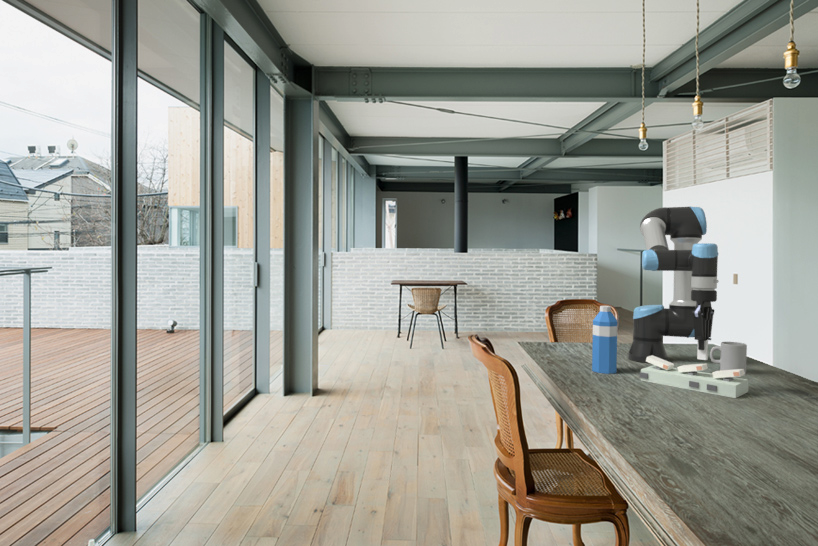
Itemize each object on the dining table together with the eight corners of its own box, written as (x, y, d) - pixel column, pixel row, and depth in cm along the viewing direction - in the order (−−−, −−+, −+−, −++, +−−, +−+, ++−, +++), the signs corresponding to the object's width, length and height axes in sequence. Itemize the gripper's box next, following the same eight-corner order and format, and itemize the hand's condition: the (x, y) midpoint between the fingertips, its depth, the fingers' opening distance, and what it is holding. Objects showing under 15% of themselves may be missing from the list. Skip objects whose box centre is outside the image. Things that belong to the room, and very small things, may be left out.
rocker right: (713, 378, 170) (712, 372, 171) (718, 376, 173) (717, 370, 173) (740, 376, 164) (738, 370, 165) (745, 374, 167) (743, 368, 168)
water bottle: (621, 373, 195) (622, 307, 194) (596, 373, 195) (597, 307, 194) (612, 368, 204) (613, 305, 203) (588, 368, 204) (589, 305, 204)
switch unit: (639, 380, 185) (639, 367, 185) (655, 375, 193) (655, 362, 193) (735, 398, 162) (735, 383, 162) (748, 391, 170) (748, 377, 170)
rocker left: (645, 361, 187) (646, 356, 187) (651, 359, 190) (652, 355, 190) (667, 370, 181) (668, 365, 181) (672, 368, 184) (674, 363, 184)
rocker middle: (678, 372, 179) (677, 367, 179) (683, 370, 182) (682, 365, 182) (702, 370, 173) (701, 365, 173) (708, 368, 176) (706, 363, 176)
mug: (744, 370, 201) (745, 342, 200) (747, 375, 193) (748, 346, 193) (708, 367, 206) (709, 340, 206) (710, 372, 199) (711, 343, 198)
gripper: (708, 290, 167) (707, 363, 168) (723, 289, 175) (721, 358, 176) (684, 289, 173) (682, 360, 173) (699, 288, 181) (698, 355, 182)
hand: (702, 359), depth 175 cm, fingers closed
